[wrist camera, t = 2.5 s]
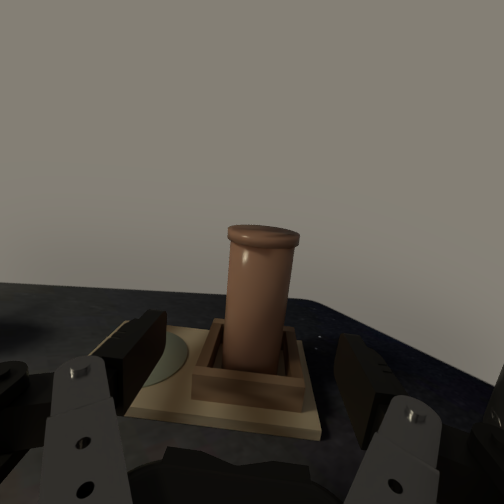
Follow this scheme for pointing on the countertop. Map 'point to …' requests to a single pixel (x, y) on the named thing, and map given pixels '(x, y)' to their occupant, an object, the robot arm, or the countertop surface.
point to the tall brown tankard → (257, 297)
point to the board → (227, 387)
